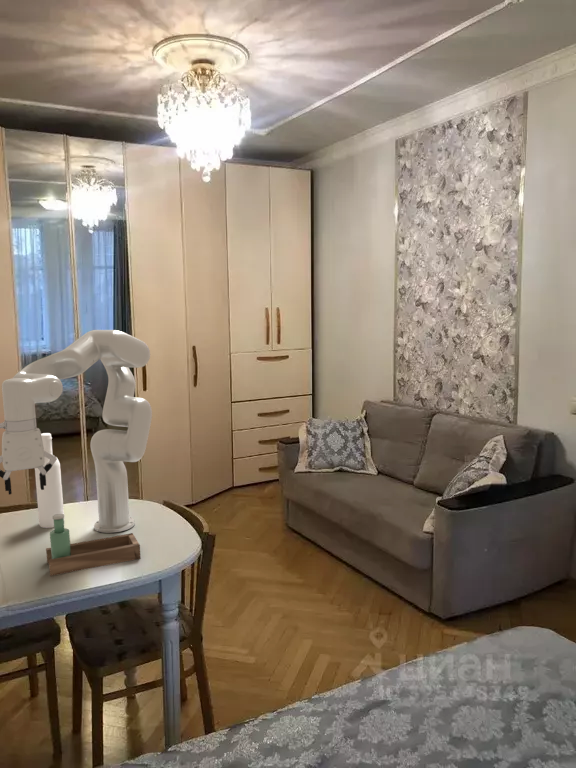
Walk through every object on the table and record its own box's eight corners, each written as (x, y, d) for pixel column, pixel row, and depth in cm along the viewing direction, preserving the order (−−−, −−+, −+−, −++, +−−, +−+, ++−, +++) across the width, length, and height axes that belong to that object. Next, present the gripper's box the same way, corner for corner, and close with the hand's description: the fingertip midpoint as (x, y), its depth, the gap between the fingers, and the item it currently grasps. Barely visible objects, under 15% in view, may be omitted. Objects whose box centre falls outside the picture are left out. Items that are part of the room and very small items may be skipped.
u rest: (47, 561, 178) (46, 548, 177) (133, 545, 188) (132, 533, 187) (50, 576, 169) (49, 561, 168) (140, 558, 179) (139, 545, 178)
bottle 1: (56, 517, 213) (49, 430, 208) (69, 522, 208) (63, 433, 203) (34, 524, 207) (26, 434, 202) (47, 530, 202) (39, 438, 197)
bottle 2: (51, 564, 176) (47, 514, 174) (70, 561, 178) (66, 511, 176) (53, 571, 171) (49, 520, 169) (72, 568, 173) (69, 516, 171)
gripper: (-16, 432, 159) (-10, 500, 161) (57, 424, 166) (62, 489, 168) (-16, 426, 165) (-10, 491, 168) (54, 419, 173) (59, 482, 175)
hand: (26, 490), depth 168 cm, fingers open, 7 cm apart
